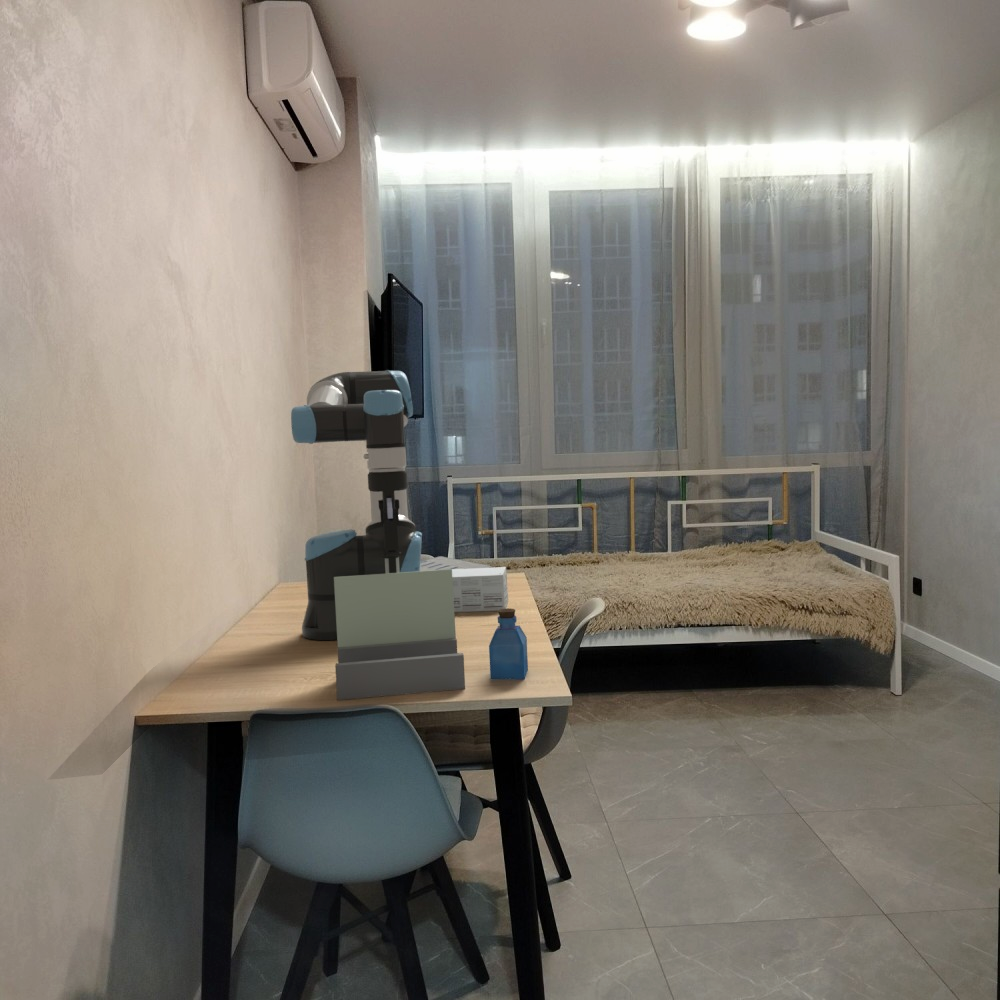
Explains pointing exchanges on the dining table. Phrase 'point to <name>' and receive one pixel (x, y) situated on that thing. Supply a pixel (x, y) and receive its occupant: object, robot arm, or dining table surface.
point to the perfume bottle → (508, 648)
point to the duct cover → (394, 607)
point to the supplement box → (480, 589)
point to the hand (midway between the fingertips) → (393, 590)
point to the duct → (399, 669)
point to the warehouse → (449, 564)
